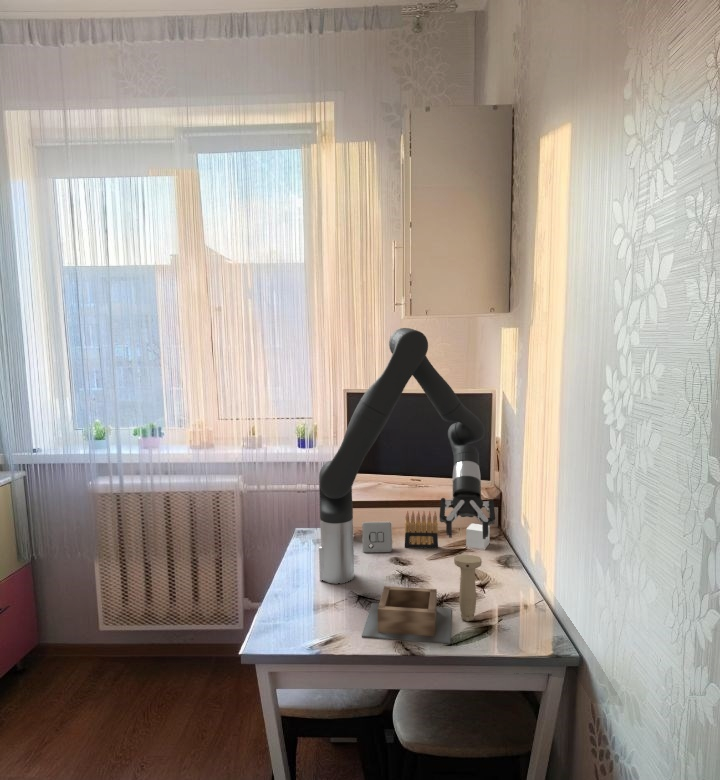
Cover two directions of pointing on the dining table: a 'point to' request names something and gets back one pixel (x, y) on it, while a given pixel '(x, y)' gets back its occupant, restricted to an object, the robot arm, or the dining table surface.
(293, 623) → the dining table surface
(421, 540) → the ammunition clip
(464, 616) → the handle
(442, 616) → the socket holder
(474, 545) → the white cube
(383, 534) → the electrical switch
